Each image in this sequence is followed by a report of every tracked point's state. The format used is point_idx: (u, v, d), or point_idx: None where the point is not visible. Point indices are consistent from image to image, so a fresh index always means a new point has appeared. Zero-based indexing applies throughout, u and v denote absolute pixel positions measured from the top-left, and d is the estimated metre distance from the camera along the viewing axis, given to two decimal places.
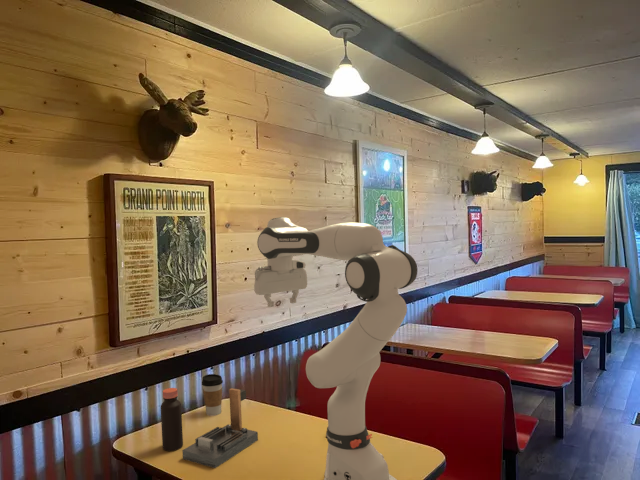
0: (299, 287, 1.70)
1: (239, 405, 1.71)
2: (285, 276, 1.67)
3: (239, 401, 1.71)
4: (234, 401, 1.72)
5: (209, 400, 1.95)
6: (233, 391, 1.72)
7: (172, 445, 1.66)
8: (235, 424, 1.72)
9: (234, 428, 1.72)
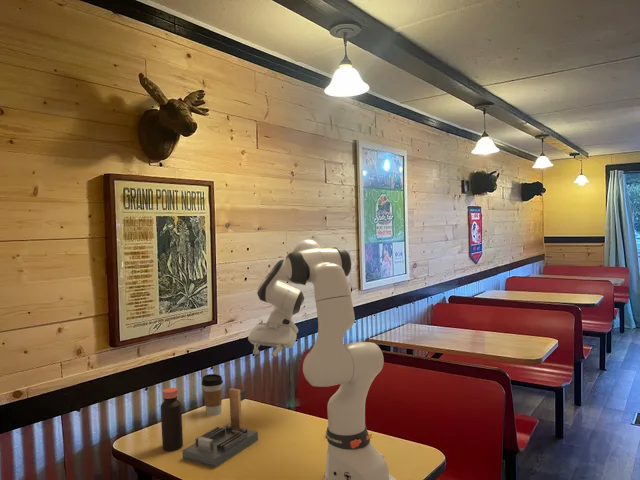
0: (281, 341, 1.86)
1: (239, 405, 1.71)
2: (273, 330, 1.92)
3: (239, 401, 1.71)
4: (234, 401, 1.72)
5: (209, 400, 1.95)
6: (233, 391, 1.72)
7: (172, 445, 1.66)
8: (235, 424, 1.72)
9: (234, 428, 1.72)
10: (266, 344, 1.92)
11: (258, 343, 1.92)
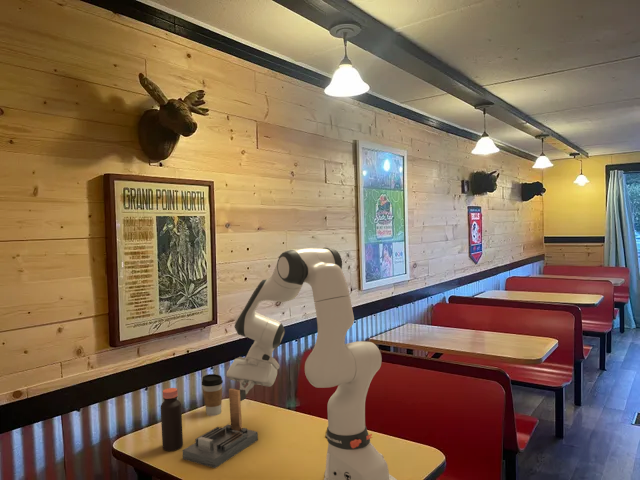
0: (260, 379, 1.74)
1: (239, 405, 1.71)
2: (253, 366, 1.80)
3: (238, 401, 1.71)
4: (234, 401, 1.71)
5: (209, 400, 1.95)
6: (233, 391, 1.71)
7: (172, 445, 1.66)
8: (235, 424, 1.72)
9: (234, 428, 1.72)
10: None
11: (244, 381, 1.79)
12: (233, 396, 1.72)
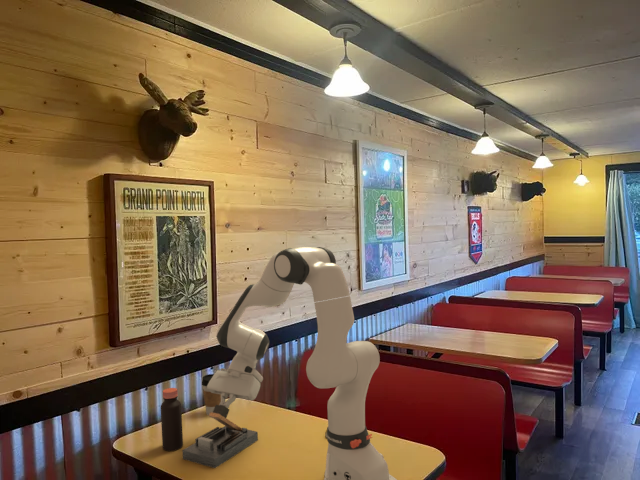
0: (242, 392, 1.66)
1: (227, 422, 1.65)
2: (235, 379, 1.71)
3: (224, 420, 1.64)
4: (220, 420, 1.65)
5: (209, 400, 1.95)
6: (214, 417, 1.63)
7: (172, 445, 1.66)
8: (233, 428, 1.71)
9: None
10: None
11: (226, 394, 1.70)
12: (217, 418, 1.64)
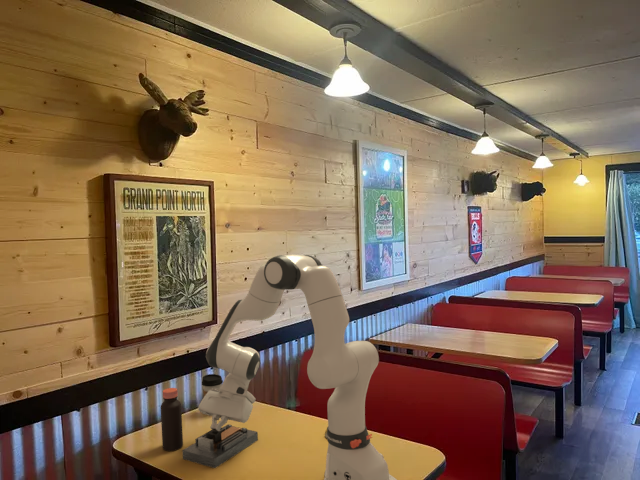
0: (233, 415, 1.62)
1: None
2: (226, 400, 1.68)
3: None
4: None
5: None
6: None
7: (172, 445, 1.66)
8: None
9: None
10: None
11: (217, 416, 1.66)
12: None
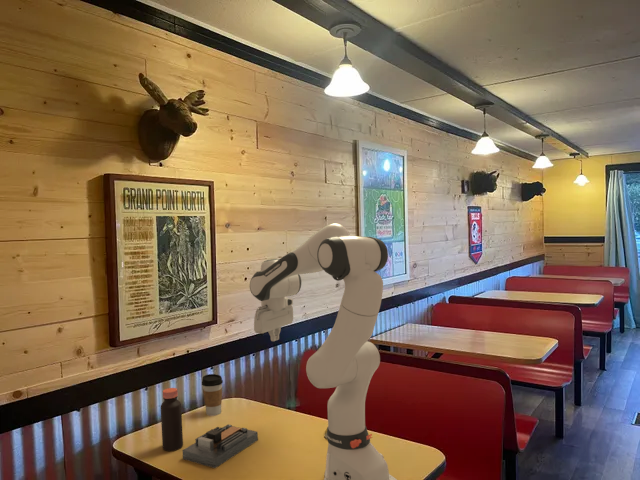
0: (288, 322, 1.84)
1: None
2: (278, 313, 1.79)
3: None
4: None
5: (209, 400, 1.95)
6: None
7: (172, 445, 1.66)
8: None
9: None
10: None
11: None
12: None
